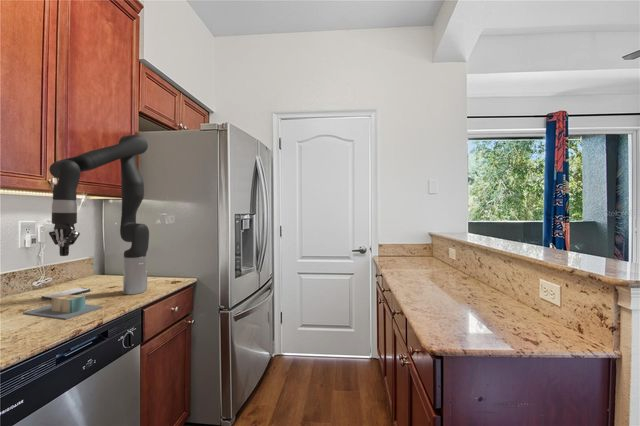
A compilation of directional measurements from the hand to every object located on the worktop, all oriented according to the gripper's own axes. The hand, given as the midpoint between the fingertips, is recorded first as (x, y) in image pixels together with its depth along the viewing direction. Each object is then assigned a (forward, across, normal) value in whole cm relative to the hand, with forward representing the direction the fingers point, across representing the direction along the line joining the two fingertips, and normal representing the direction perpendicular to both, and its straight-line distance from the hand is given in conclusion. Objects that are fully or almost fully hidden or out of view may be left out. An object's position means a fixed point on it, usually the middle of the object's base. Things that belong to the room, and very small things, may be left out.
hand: (64, 255), depth 116 cm
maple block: (+18, +2, 0) cm, 18 cm away
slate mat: (+21, -1, 0) cm, 21 cm away
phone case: (+22, +20, -16) cm, 34 cm away
